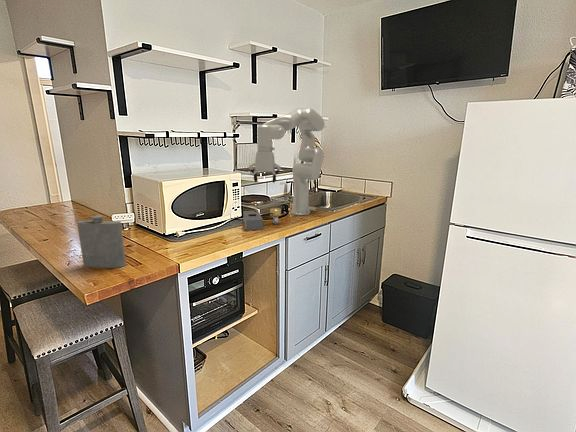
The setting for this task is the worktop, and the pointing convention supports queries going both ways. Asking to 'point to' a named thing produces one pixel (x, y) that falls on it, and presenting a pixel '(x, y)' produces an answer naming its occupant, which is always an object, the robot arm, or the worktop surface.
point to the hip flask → (101, 243)
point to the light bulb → (275, 214)
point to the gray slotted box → (252, 220)
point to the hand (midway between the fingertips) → (264, 182)
